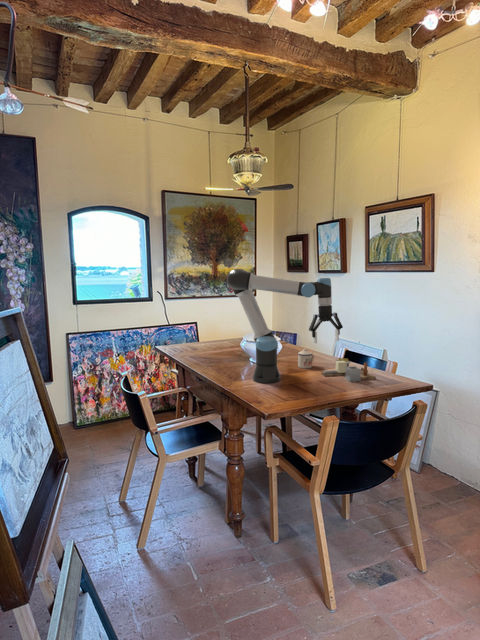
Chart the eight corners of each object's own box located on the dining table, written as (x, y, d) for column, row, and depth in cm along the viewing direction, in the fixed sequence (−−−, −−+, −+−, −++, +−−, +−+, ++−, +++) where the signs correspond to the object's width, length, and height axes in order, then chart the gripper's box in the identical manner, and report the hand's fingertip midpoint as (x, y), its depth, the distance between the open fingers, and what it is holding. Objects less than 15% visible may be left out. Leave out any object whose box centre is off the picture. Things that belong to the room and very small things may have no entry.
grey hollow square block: (350, 382, 209) (350, 369, 209) (345, 379, 215) (345, 366, 215) (360, 381, 210) (360, 368, 210) (355, 378, 216) (355, 366, 216)
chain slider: (325, 373, 222) (325, 363, 221) (322, 371, 225) (322, 361, 225) (346, 372, 224) (346, 362, 223) (343, 370, 228) (343, 360, 227)
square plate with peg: (362, 380, 213) (362, 365, 212) (355, 376, 221) (355, 361, 220) (375, 379, 214) (375, 364, 213) (368, 375, 222) (368, 361, 221)
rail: (324, 376, 221) (325, 372, 220) (321, 374, 227) (321, 370, 226) (367, 374, 225) (367, 370, 225) (362, 371, 231) (362, 367, 231)
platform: (336, 364, 251) (336, 354, 250) (361, 369, 238) (362, 359, 237) (325, 368, 243) (326, 357, 242) (351, 373, 230) (352, 362, 229)
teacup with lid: (304, 369, 238) (305, 350, 236) (294, 366, 245) (294, 348, 244) (318, 366, 245) (318, 348, 243) (308, 364, 252) (308, 346, 251)
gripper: (307, 307, 214) (308, 345, 216) (348, 303, 220) (349, 340, 222) (302, 306, 221) (303, 342, 224) (341, 303, 227) (342, 338, 229)
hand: (326, 341), depth 223 cm, fingers open, 13 cm apart
